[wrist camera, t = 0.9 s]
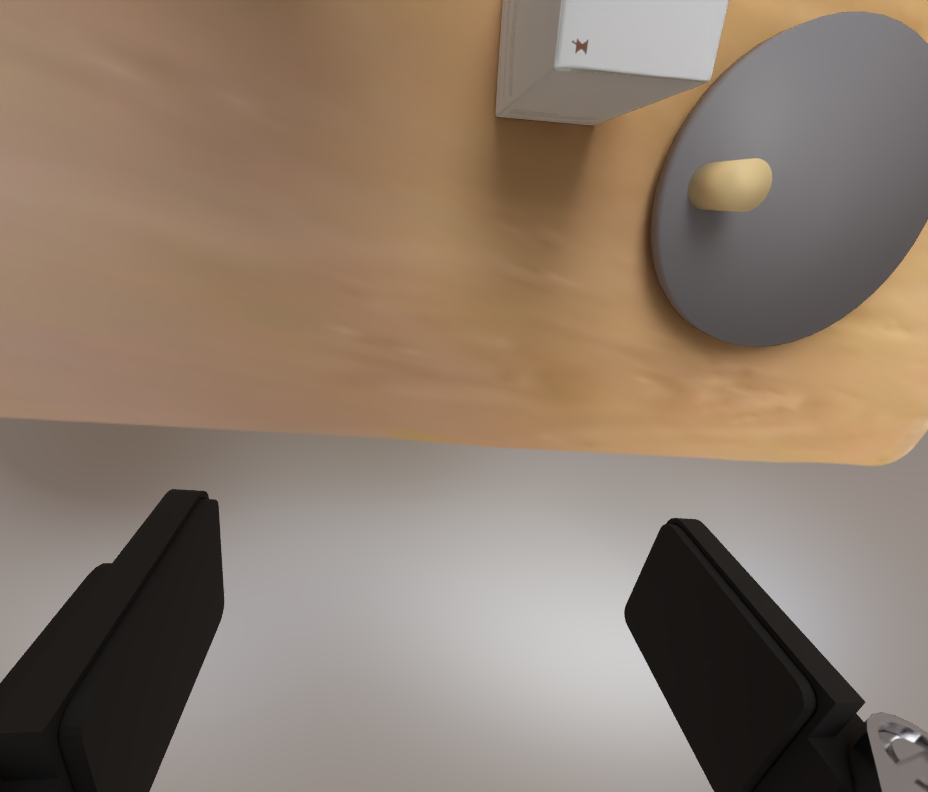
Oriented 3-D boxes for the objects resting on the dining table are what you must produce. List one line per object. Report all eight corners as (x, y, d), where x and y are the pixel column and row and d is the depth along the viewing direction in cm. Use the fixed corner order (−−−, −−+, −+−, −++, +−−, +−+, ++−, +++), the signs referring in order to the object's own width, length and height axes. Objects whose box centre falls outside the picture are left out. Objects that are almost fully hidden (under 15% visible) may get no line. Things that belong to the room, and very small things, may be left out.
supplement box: (596, 128, 31) (712, 90, 19) (492, 118, 29) (549, 71, 18) (618, -9, 28) (771, -150, 16) (503, -26, 26) (580, -190, 15)
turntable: (714, -16, 27) (783, -63, 22) (989, 57, 31) (1101, 31, 26) (616, 328, 36) (650, 350, 31) (839, 352, 40) (902, 374, 35)
